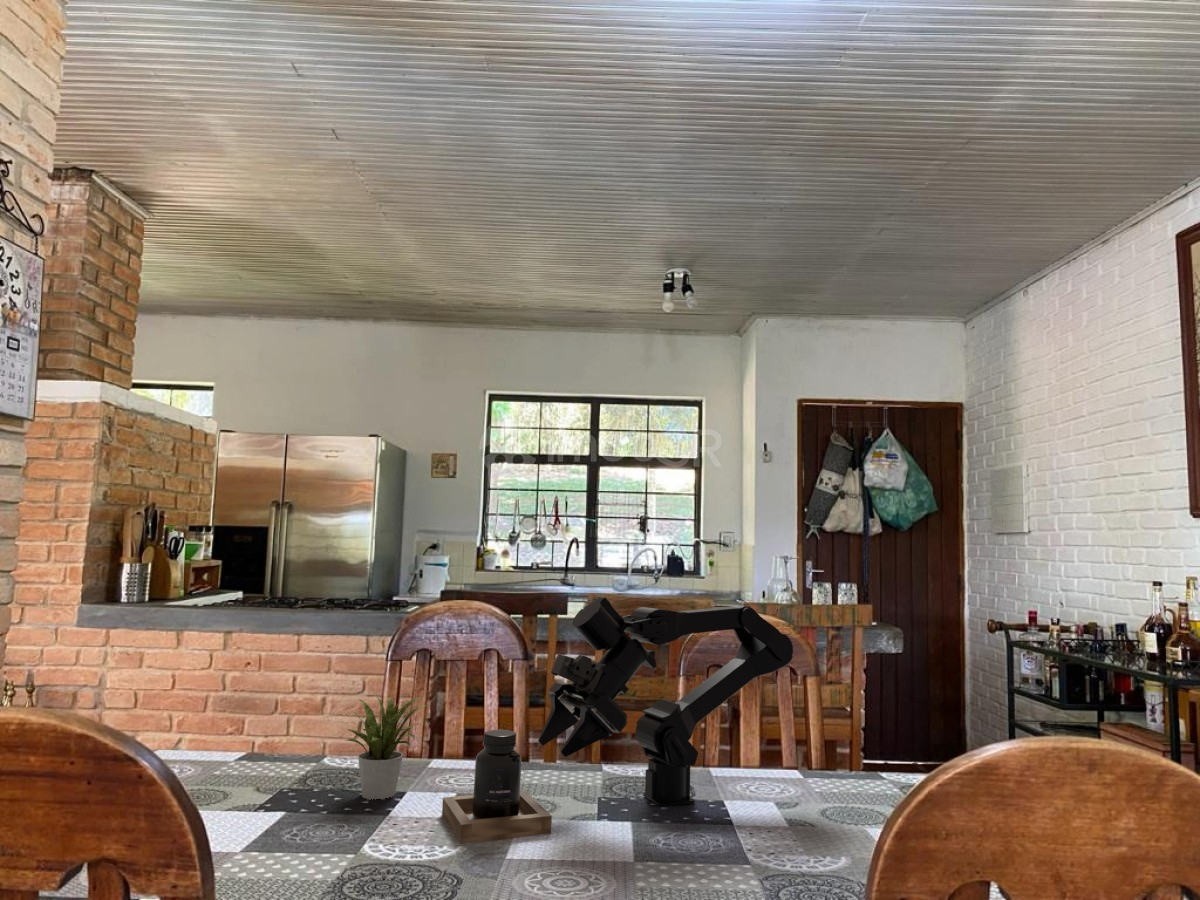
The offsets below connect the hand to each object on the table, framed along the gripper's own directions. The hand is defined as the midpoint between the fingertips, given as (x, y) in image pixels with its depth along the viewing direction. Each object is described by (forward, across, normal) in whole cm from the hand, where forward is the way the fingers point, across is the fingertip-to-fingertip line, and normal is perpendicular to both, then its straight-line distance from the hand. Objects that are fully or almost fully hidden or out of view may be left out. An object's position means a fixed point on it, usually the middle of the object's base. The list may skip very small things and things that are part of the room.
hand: (551, 748), depth 122 cm
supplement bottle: (+12, 0, 0) cm, 13 cm away
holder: (+13, 0, 0) cm, 13 cm away
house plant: (+21, -20, -9) cm, 30 cm away
